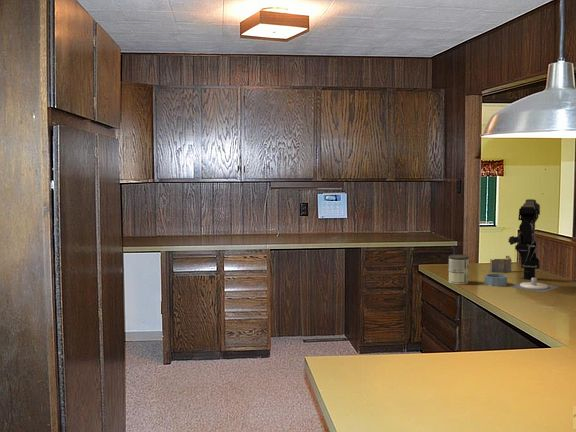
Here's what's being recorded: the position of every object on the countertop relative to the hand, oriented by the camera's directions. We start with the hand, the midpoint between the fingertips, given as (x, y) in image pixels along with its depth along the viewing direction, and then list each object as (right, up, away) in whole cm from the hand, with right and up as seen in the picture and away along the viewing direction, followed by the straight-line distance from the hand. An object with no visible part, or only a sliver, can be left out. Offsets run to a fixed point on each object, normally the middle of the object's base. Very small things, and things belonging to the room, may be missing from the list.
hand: (526, 261), depth 298 cm
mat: (+4, -13, 0) cm, 14 cm away
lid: (+4, -13, 0) cm, 13 cm away
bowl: (-12, -13, +9) cm, 20 cm away
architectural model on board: (+3, -10, +44) cm, 45 cm away
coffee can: (-30, -12, +16) cm, 36 cm away
